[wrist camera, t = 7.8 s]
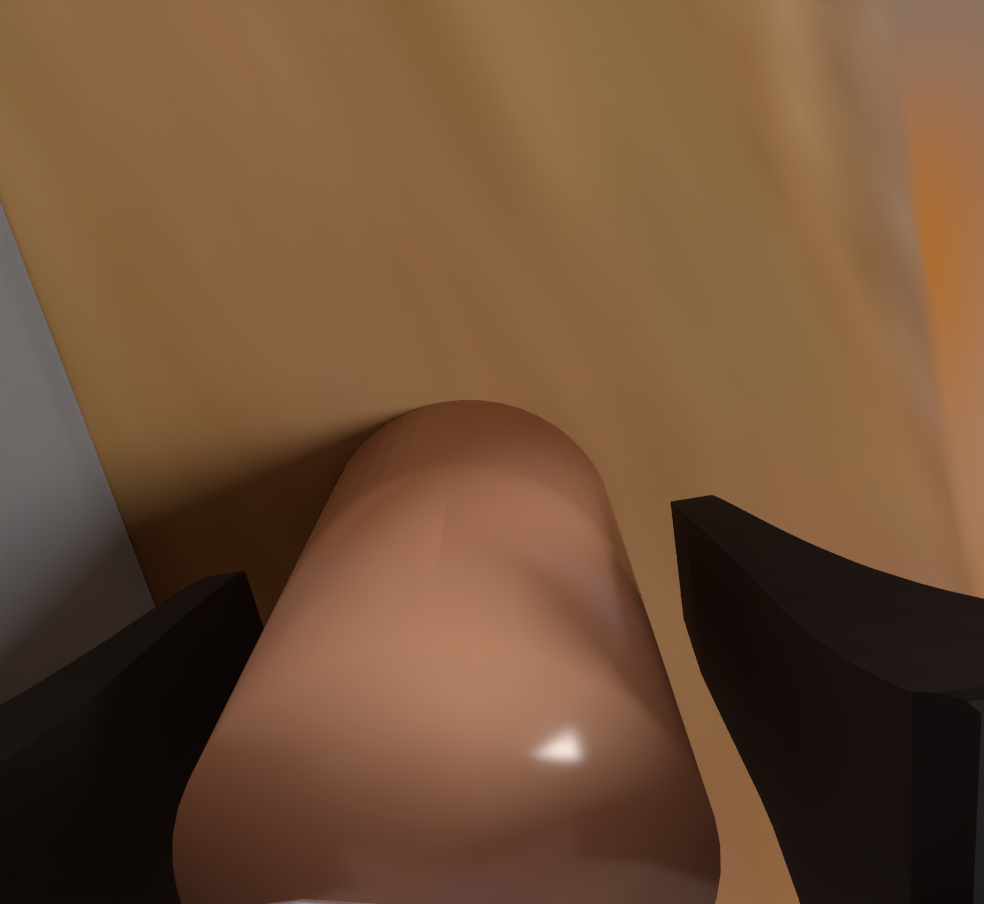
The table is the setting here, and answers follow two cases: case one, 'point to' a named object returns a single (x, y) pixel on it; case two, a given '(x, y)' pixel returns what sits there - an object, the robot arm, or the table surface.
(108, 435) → the table surface
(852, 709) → the robot arm
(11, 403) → the box
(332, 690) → the brown egg
